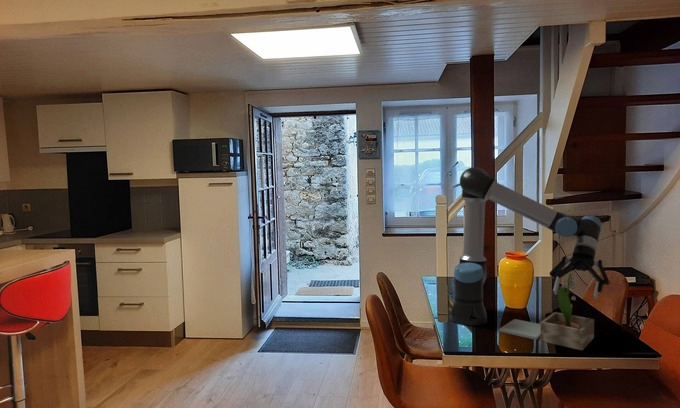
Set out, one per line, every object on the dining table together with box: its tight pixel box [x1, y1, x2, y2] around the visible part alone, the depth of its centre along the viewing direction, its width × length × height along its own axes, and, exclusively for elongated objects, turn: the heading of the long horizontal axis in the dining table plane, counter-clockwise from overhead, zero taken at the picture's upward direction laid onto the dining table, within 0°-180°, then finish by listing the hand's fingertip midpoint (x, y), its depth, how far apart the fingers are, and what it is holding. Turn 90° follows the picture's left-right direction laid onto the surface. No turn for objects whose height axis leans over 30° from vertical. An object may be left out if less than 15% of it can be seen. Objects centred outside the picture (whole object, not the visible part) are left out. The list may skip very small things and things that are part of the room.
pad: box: [498, 318, 541, 341], centre depth 173 cm, size 14×16×1 cm
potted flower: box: [554, 272, 580, 329], centre depth 162 cm, size 12×10×25 cm
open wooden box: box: [539, 311, 595, 351], centre depth 162 cm, size 14×16×7 cm
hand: (574, 295), depth 163 cm, fingers open, 13 cm apart
